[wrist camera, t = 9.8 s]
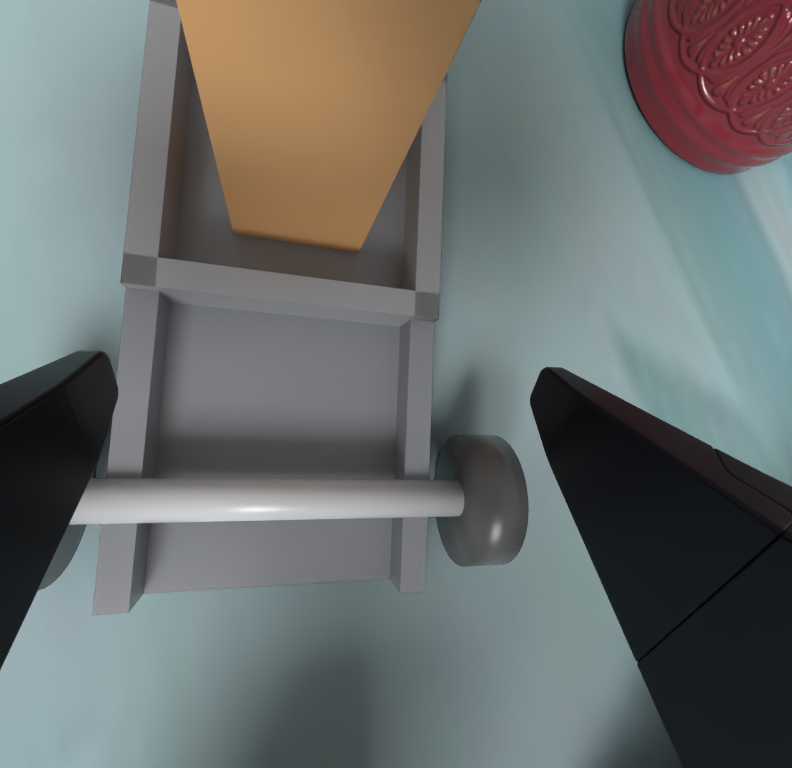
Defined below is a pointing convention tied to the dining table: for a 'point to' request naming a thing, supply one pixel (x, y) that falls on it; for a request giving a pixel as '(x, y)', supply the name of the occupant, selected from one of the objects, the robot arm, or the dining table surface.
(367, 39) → the block with grey dome
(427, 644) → the dining table surface
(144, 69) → the chassis
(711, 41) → the canister
